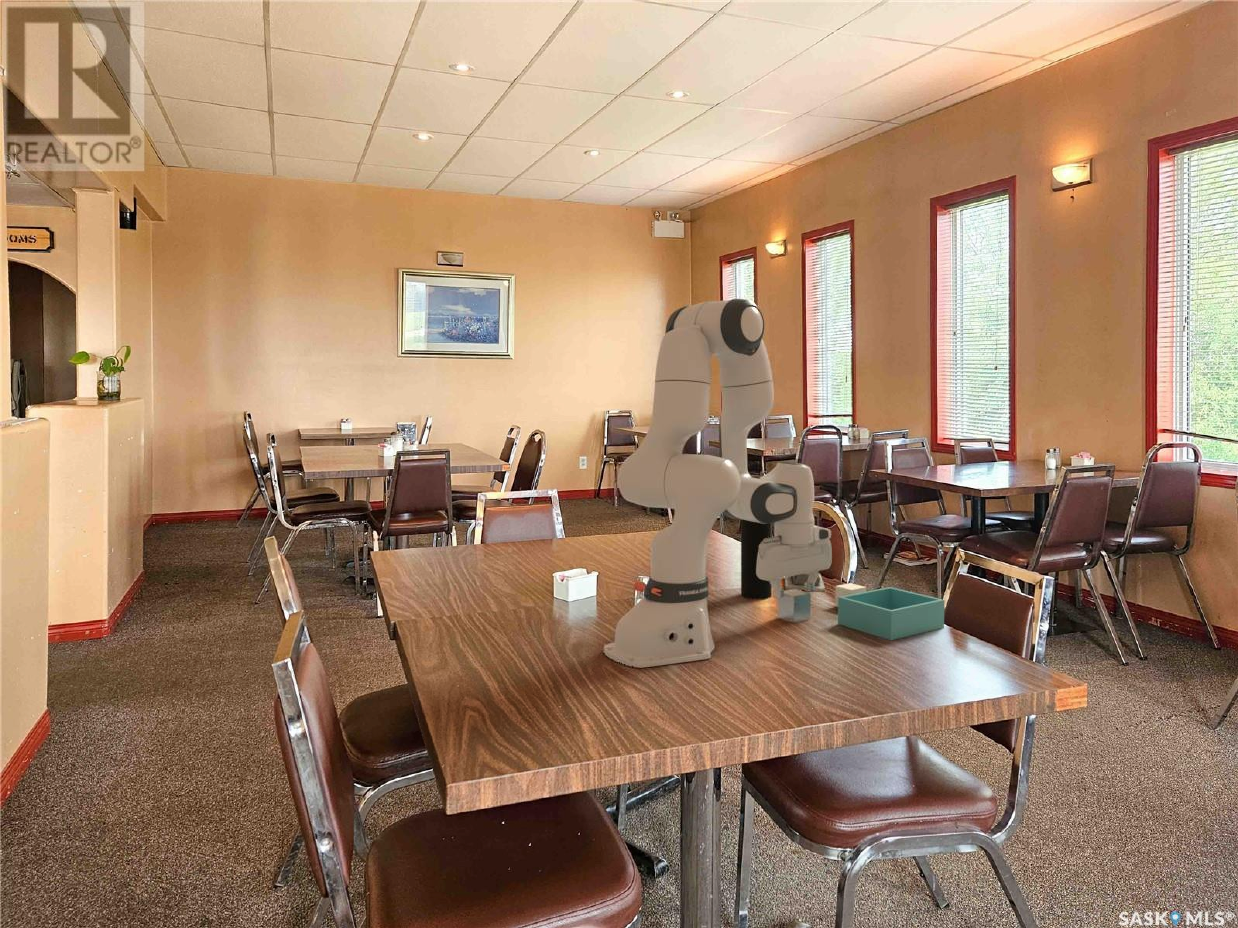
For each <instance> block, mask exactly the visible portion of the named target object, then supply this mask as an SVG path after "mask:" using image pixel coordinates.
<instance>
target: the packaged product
mask: <svg viewBox="0 0 1238 928" xmlns="http://www.w3.org/2000/svg"><path fill="white" fill-rule="evenodd" d="M808 577H809V574H808V573H805V574H800V575H795V576H790V577H785V578H784V587H785V591H787V590H792V589H797V590H805V582H807V580H808ZM825 591H826V587H825V583H824V580H823V578H822V575H821V573H819V575H818V578H817V580H816V582H815V590H813V591H812V592H825Z"/></svg>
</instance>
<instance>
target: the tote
mask: <svg viewBox="0 0 1238 928" xmlns="http://www.w3.org/2000/svg"><path fill="white" fill-rule="evenodd" d="M837 624H838V625H840V626H844V627H846V628H849V629H853V630H857V631H859V632H863V633H866V634H869V635H872V636H876V637H879V638H883V639H885V640H889V641H893V640H898V639H902V638H905V637H910V636H916V635H918V634H922V633H926V632H930V631H936V630H939V629H943V628H944V627H945V599H942V598H937V597H933V596H929V595H926V594H920V593H917V592H913V591H908V590H904V589H900V588H896V587H891V586H887V587H885V588H878V589H874V590H873V589H872V590H867V592H862V593H857V594H852V595H846V596H841V597H838V607H837Z"/></svg>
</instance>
